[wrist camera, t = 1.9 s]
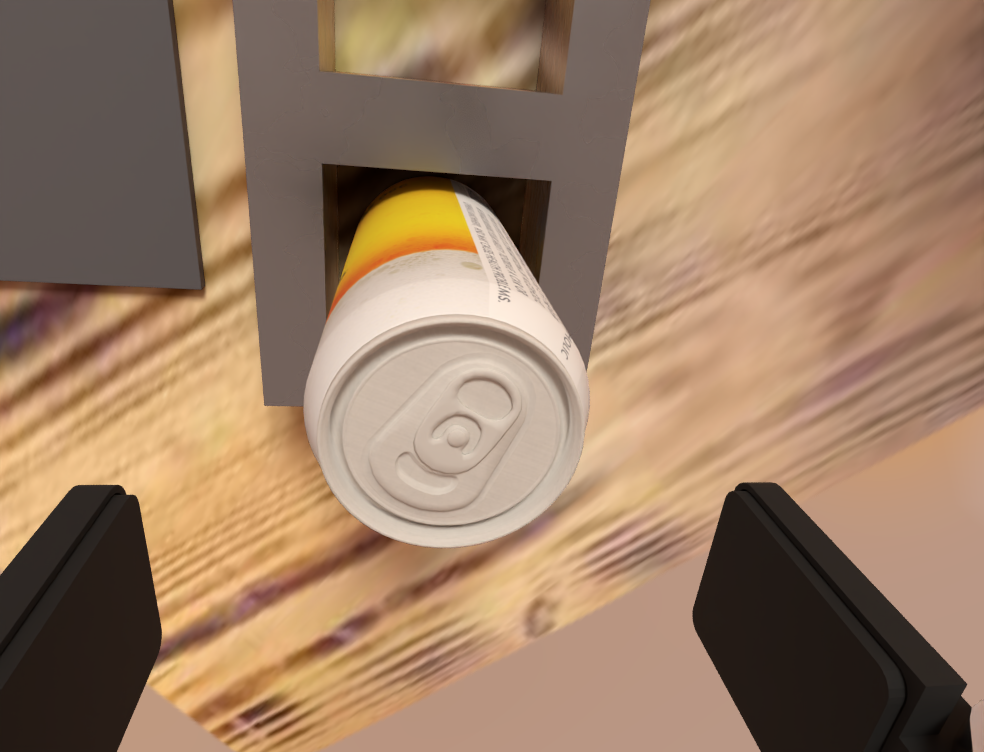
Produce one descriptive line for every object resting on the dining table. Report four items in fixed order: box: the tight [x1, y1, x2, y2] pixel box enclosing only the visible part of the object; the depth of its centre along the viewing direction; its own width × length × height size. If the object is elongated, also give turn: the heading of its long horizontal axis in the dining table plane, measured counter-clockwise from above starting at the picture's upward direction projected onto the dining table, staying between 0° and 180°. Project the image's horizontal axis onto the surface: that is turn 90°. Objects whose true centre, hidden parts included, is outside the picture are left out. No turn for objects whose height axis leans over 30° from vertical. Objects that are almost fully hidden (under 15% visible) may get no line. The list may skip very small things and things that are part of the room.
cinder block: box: [233, 0, 650, 406], centre depth 21 cm, size 20×12×4 cm, turn 175°
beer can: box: [304, 176, 590, 548], centre depth 19 cm, size 6×6×15 cm
